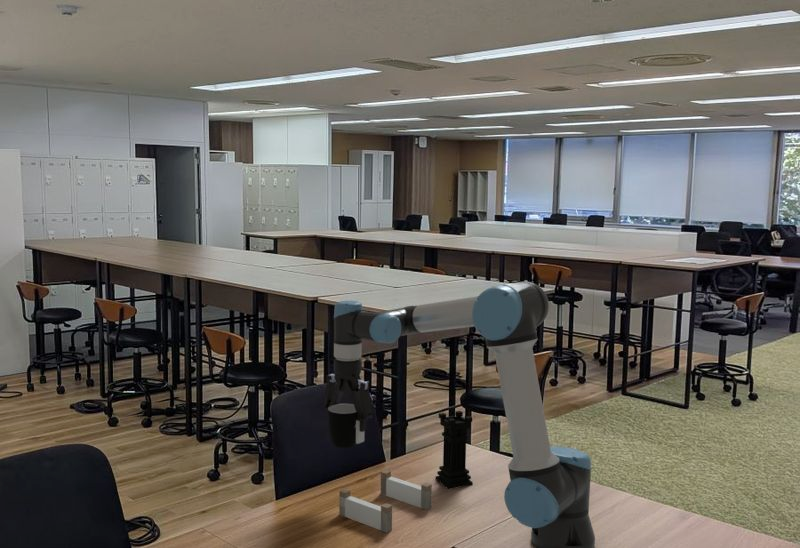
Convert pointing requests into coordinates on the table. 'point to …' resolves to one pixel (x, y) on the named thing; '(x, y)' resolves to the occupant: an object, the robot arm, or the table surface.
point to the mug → (342, 425)
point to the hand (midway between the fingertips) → (347, 438)
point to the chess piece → (454, 451)
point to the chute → (383, 514)
